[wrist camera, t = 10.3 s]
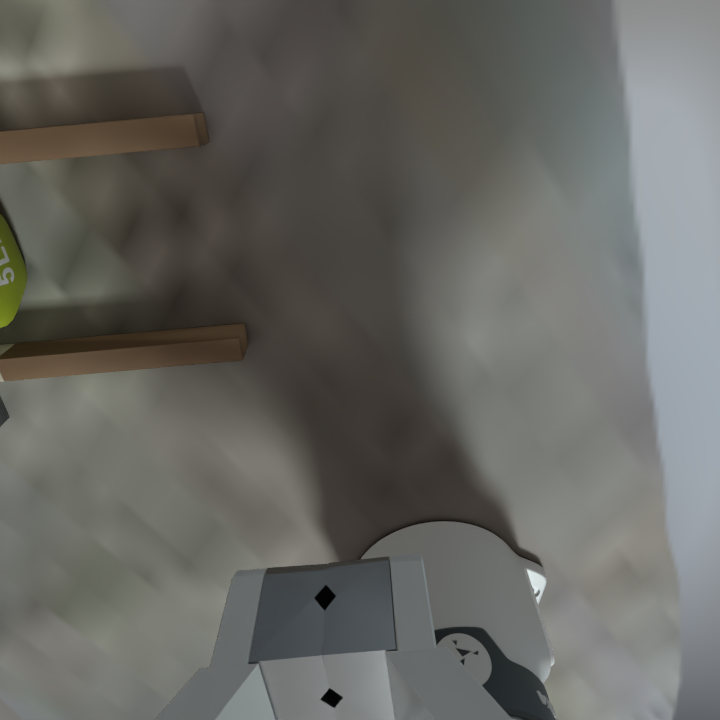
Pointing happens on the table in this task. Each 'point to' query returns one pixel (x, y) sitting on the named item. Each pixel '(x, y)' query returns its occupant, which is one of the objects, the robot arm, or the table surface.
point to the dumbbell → (10, 275)
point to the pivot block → (3, 413)
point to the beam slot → (118, 348)
